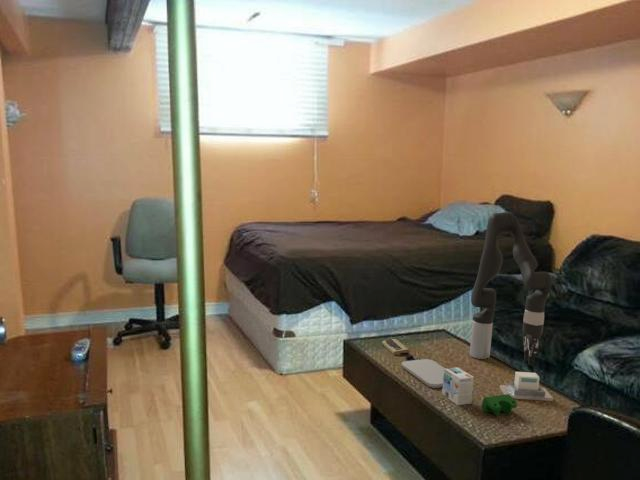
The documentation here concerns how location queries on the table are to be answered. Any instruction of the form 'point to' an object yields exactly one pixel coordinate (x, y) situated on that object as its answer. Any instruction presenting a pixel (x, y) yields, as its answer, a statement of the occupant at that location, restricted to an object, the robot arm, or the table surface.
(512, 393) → the grey flat block
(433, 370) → the tablet
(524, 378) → the block
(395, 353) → the computer
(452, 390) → the light bulb box
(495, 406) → the clamp
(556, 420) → the table surface
